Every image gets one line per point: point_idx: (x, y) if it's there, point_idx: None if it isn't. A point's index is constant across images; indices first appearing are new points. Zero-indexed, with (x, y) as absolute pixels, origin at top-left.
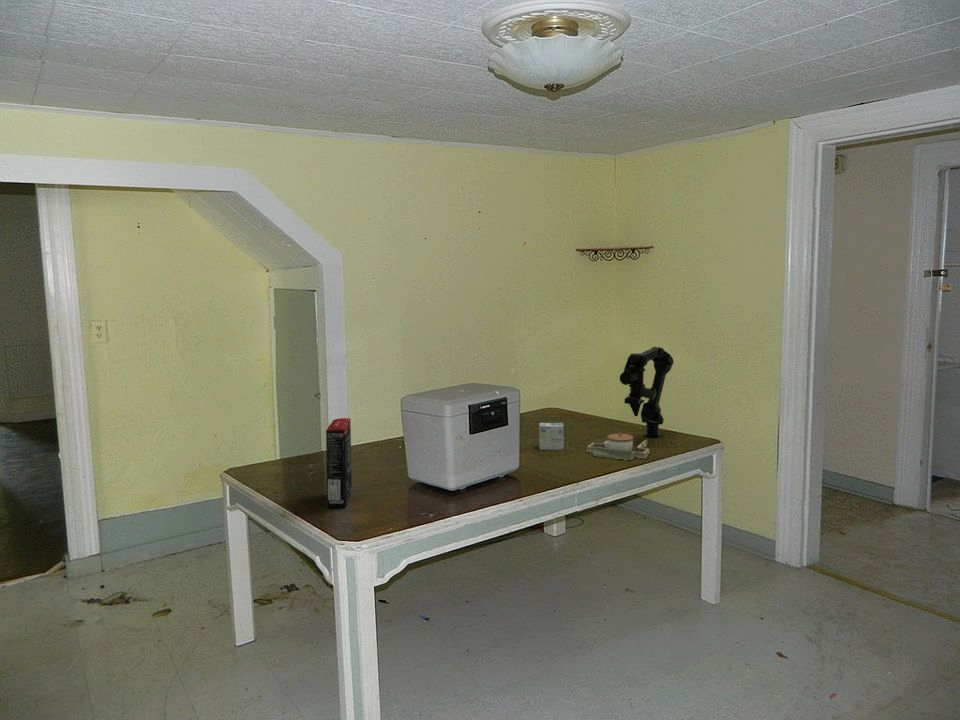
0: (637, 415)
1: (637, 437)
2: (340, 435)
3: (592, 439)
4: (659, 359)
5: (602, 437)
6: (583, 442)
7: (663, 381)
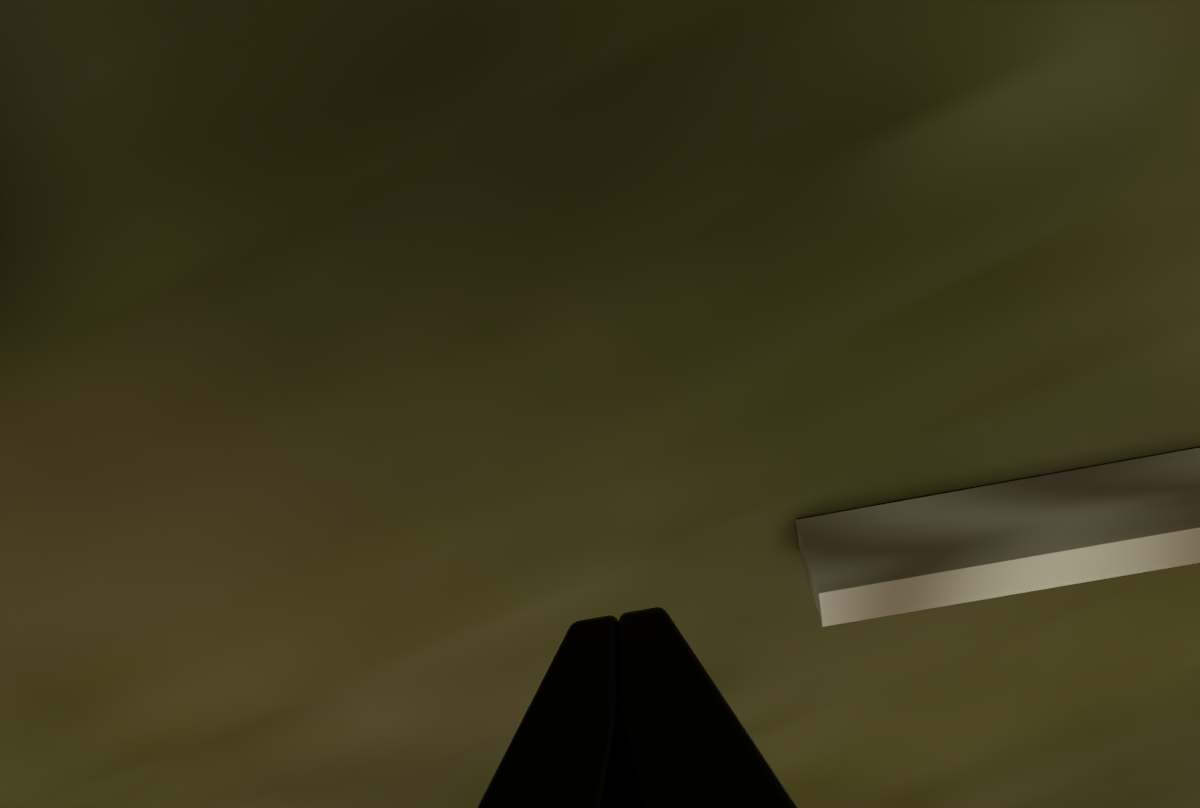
0: (625, 631)
1: (163, 344)
2: None
3: (829, 793)
4: None
5: None
6: (1073, 799)
7: None
